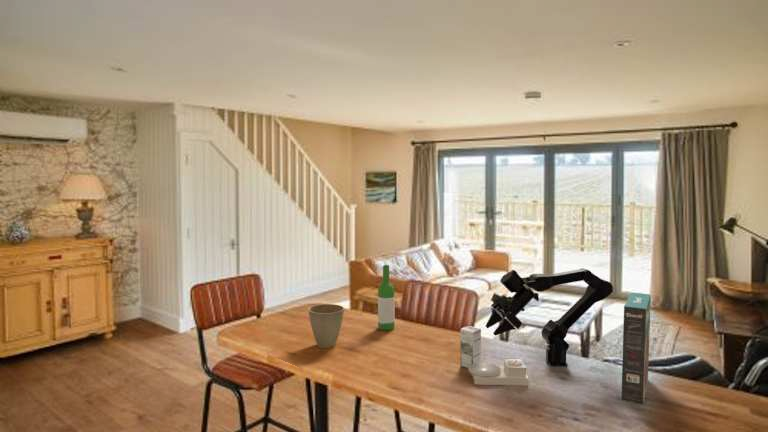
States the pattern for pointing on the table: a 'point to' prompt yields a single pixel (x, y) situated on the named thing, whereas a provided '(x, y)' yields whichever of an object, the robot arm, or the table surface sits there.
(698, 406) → the table surface
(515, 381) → the scale
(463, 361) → the syrup box
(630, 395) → the cake mix box
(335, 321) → the plant pot
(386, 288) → the wine bottle
